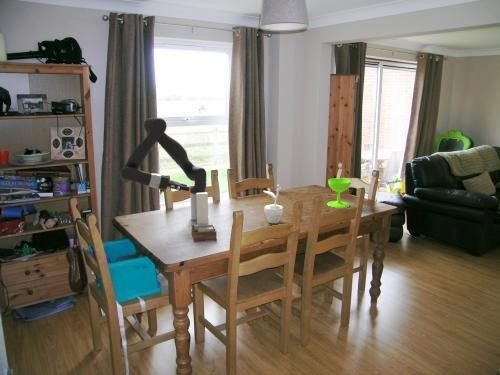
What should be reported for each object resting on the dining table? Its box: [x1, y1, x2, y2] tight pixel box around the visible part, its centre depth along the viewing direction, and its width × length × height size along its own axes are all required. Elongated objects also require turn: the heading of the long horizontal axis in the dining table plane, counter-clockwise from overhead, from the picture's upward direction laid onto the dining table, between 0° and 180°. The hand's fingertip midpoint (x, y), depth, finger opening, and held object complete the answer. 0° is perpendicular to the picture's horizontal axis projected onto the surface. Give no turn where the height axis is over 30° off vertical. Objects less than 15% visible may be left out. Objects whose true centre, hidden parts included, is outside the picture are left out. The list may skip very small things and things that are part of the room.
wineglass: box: [326, 177, 352, 209], centre depth 276 cm, size 16×16×18 cm
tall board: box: [196, 191, 209, 225], centre depth 216 cm, size 2×6×22 cm, turn 104°
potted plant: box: [263, 183, 284, 224], centre depth 238 cm, size 13×12×25 cm
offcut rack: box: [191, 224, 217, 243], centre depth 215 cm, size 14×12×5 cm
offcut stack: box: [193, 223, 214, 232], centre depth 212 cm, size 7×10×5 cm, turn 104°
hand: (187, 188), depth 213 cm, fingers open, 8 cm apart
